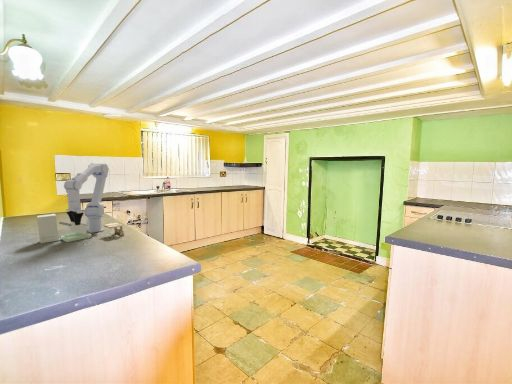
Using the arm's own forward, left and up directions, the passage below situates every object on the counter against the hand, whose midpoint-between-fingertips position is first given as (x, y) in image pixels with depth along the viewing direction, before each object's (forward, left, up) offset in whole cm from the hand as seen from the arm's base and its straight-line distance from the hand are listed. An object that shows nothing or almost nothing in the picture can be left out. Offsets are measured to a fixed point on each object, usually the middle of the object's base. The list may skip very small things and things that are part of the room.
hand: (75, 224), depth 149 cm
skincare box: (-6, -12, -9) cm, 15 cm away
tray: (0, 0, -8) cm, 8 cm away
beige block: (+10, +15, -8) cm, 20 cm away
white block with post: (0, -3, -3) cm, 4 cm away
